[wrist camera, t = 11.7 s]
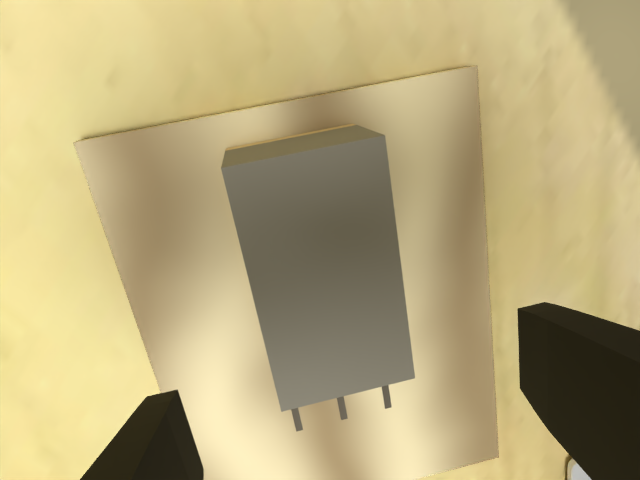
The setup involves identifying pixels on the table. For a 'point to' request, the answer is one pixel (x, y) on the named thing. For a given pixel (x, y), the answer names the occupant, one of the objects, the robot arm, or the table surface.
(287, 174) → the block
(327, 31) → the table surface
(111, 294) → the table surface
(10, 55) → the table surface
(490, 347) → the board
